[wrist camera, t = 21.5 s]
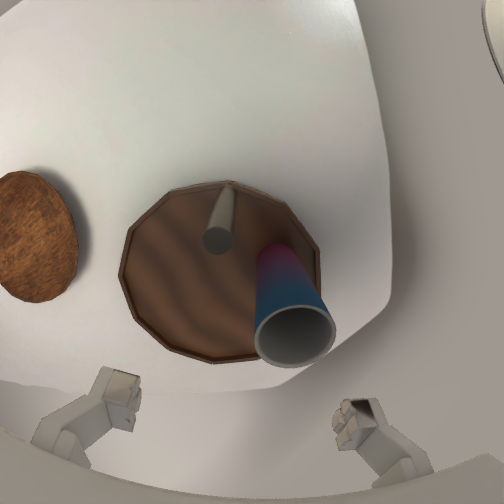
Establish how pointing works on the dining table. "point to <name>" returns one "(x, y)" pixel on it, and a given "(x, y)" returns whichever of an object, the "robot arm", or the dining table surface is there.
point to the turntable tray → (207, 267)
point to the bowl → (35, 239)
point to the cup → (289, 311)
